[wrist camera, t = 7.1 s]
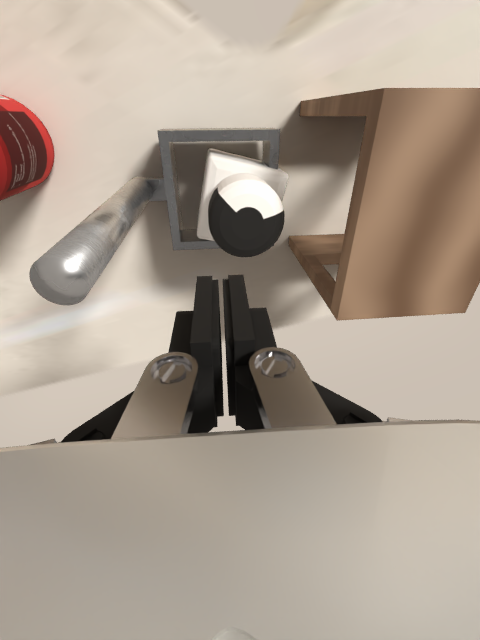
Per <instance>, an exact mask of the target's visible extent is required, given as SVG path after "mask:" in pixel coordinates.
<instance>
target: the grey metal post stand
mask: <svg viewBox="0 0 480 640" xmlns="http://www.w3.org/2000/svg"><path fill="white" fill-rule="evenodd" d="M158 138H159V146H160V153H161V161H162V168H163V176H164V177H159V178H143V177H134V178H132V179H131V180H130V181H129V182H128V183H126V184H125V185H124V186H123V187H122V188H121V189H119V190H118V191H117V192H116V193H115V194H114V195H112V196H111V197H110V198H109V199H108V200H107V201H105V202H104V203H103V204H102V205H101V206H100V207H99V208H97V209H96V210H95V211H94V212H93V213H92V214H90V215H89V216H88V217H87V218H86V219H85V220H83V221H82V222H81V223H80V224H79V225H78V226H76V227H75V228H74V229H73V230H72V231H71V232H69V233H68V234H67V235H66V236H65V237H64V238H62V239H61V240H60V241H59V242H58V243H57V244H55V245H54V246H53V247H52V248H51V249H50V250H48V251H47V252H46V253H45V254H44V255H43V256H41V257H40V258H39V259H38V260H37V261H36V262H34V264H33V265H32V267H31V269H30V281H31V283H32V285H33V287H34V289H35V290H36V291H37V292H38V293H39V294H40V295H41V296H42V297H43V298H45V299H47V300H48V301H50V302H53V303H56V304H60V305H73V304H77V303H79V302H81V301H82V300H83V299H84V298H85V297H86V296H87V294H88V293H89V291H90V290H91V288H92V287H93V285H94V284H95V282H96V280H97V279H98V277H99V276H100V274H101V273H102V271H103V270H104V268H105V267H106V265H107V264H108V262H109V261H110V259H111V258H112V256H113V255H114V253H115V252H116V250H117V249H118V247H119V246H120V244H121V243H122V241H123V240H124V238H125V237H126V235H127V233H128V232H129V230H130V229H131V227H132V226H133V224H134V223H135V221H136V220H137V218H138V217H139V215H140V214H141V212H142V211H143V209H144V208H145V206H146V205H147V203H148V202H149V201H167V206H168V213H169V220H170V228H171V235H172V243H173V250H189V249H213V248H220V247H219V246H218V245H217V244H216V242H215V241H211V240H206V239H201V238H198V236H197V229H187V230H183V225H182V216H181V207H180V198H179V189H178V180H177V171H176V162H175V153H174V144H173V142H195V141H263V156H262V162H263V163H264V164H265V165H267V166H268V167H269V168H273V169H277V170H278V160H279V143H280V129H275V128H211V129H161V130H158ZM272 246H274V244H273V245H272Z"/></svg>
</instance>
